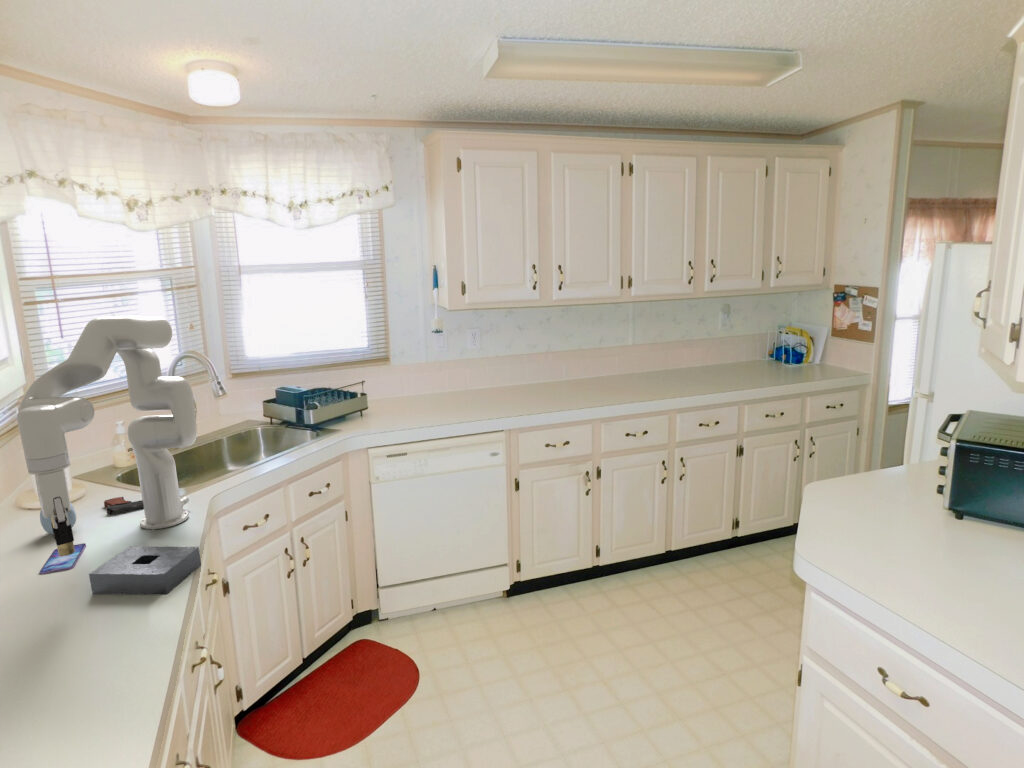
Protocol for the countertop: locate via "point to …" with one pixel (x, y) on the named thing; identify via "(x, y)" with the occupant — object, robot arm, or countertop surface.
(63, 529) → the robot arm
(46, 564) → the smartphone
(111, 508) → the handgun
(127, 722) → the countertop surface
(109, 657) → the countertop surface
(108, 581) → the block
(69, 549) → the brass pin
